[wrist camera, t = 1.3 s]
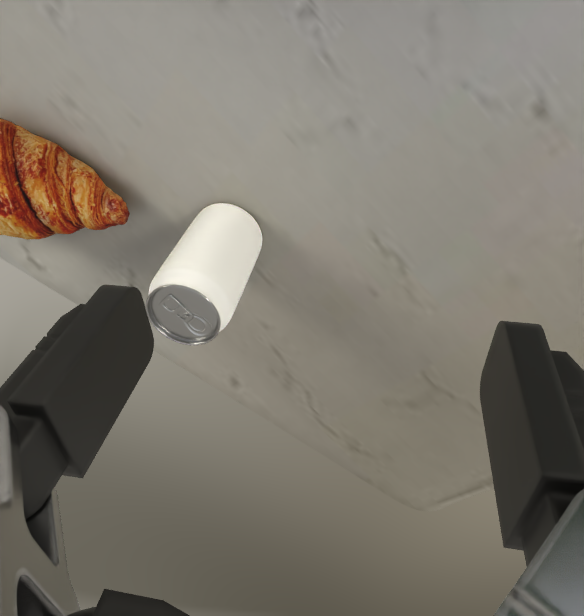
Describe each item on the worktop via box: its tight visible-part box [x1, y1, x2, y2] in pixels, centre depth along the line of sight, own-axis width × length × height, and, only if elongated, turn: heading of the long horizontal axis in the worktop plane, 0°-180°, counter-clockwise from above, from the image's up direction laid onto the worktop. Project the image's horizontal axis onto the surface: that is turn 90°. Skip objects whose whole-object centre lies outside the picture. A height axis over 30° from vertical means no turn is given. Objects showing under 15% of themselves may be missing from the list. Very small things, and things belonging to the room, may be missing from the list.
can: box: [146, 203, 262, 345], centre depth 39 cm, size 6×6×12 cm
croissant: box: [0, 118, 130, 239], centre depth 41 cm, size 21×10×8 cm, turn 78°
